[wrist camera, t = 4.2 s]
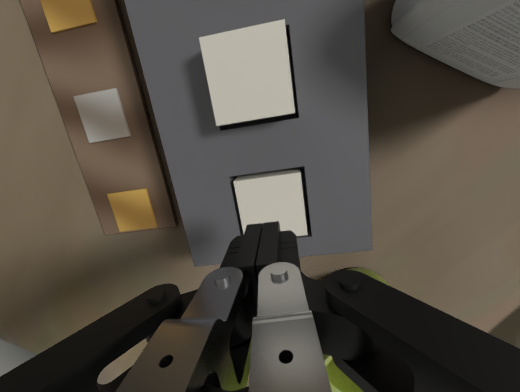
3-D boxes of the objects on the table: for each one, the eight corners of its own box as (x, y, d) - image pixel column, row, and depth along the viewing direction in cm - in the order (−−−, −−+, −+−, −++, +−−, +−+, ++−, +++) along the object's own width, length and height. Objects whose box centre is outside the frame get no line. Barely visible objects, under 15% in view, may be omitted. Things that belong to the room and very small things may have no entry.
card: (17, -20, 18) (8, -25, 17) (105, -44, 17) (99, -50, 16) (108, 232, 23) (103, 235, 23) (178, 224, 22) (175, 227, 22)
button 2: (239, 173, 19) (233, 181, 16) (298, 165, 18) (300, 172, 16) (249, 226, 20) (245, 241, 18) (304, 220, 19) (307, 234, 17)
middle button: (212, 50, 15) (198, 37, 13) (284, 35, 14) (284, 18, 12) (226, 124, 16) (216, 126, 14) (293, 113, 16) (295, 112, 13)
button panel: (130, -92, 16) (82, -158, 12) (336, -153, 14) (355, -251, 11) (209, 241, 23) (194, 266, 19) (356, 226, 21) (372, 250, 17)
